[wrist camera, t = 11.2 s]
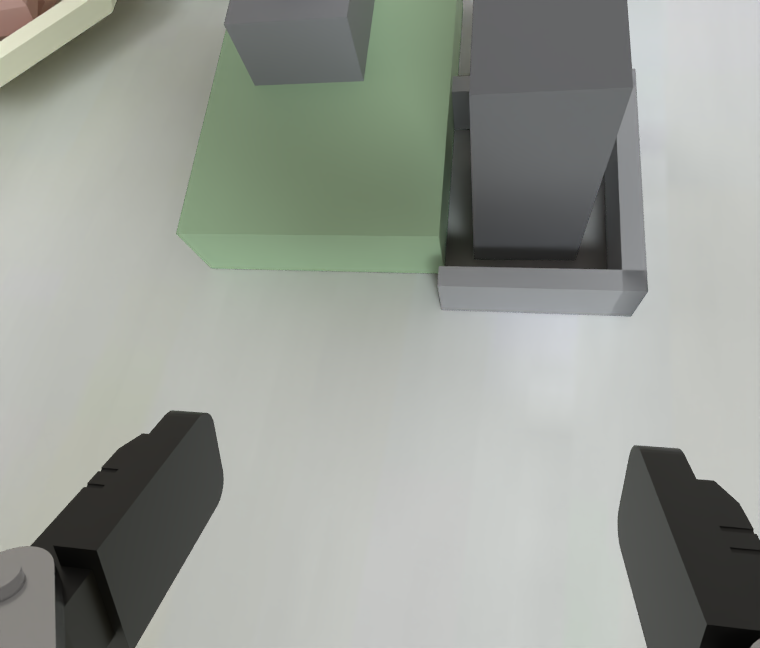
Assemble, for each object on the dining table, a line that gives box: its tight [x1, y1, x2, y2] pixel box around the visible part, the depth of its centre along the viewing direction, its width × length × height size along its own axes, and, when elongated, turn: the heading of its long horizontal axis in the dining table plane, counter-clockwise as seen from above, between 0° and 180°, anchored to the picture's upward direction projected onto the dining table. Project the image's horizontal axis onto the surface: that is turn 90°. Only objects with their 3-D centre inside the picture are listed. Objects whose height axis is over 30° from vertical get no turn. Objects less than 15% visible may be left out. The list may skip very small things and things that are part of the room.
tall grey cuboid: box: [469, 0, 633, 260], centre depth 25 cm, size 5×6×12 cm
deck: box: [176, 0, 648, 316], centre depth 28 cm, size 22×20×10 cm
